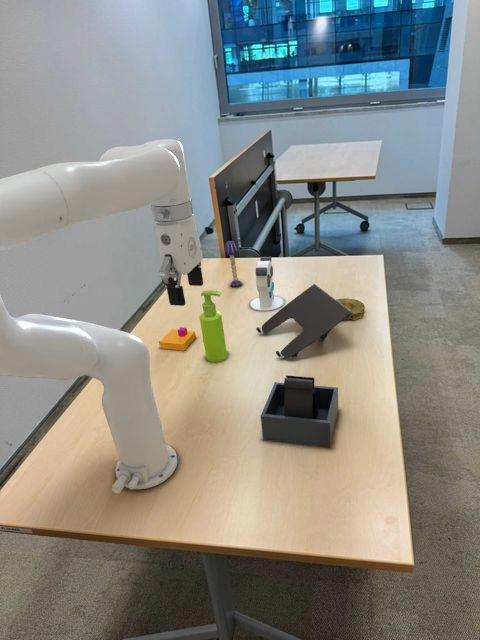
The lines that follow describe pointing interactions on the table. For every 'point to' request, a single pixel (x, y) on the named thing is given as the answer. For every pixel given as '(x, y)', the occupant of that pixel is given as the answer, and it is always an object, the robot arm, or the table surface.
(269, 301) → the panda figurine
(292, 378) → the phone stand
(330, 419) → the tote
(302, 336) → the laptop tray
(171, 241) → the robot arm
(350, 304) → the compass
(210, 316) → the soap dispenser
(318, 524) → the table surface
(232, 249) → the toy lamp
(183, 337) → the orange tile with knob
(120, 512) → the table surface
